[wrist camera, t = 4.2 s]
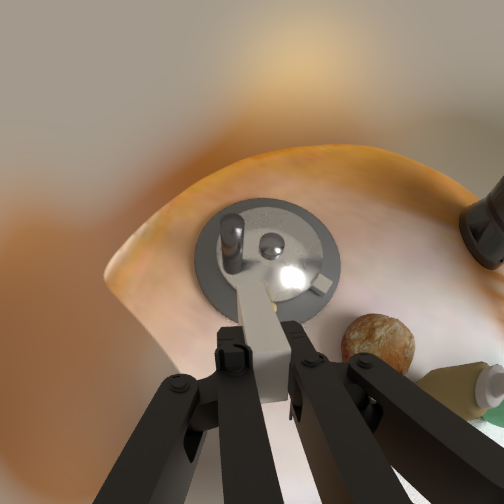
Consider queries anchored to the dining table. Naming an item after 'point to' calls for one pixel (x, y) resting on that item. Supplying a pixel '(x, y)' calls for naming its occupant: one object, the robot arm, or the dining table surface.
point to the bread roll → (380, 340)
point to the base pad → (230, 295)
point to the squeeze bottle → (466, 388)
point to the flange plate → (288, 265)
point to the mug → (495, 415)
